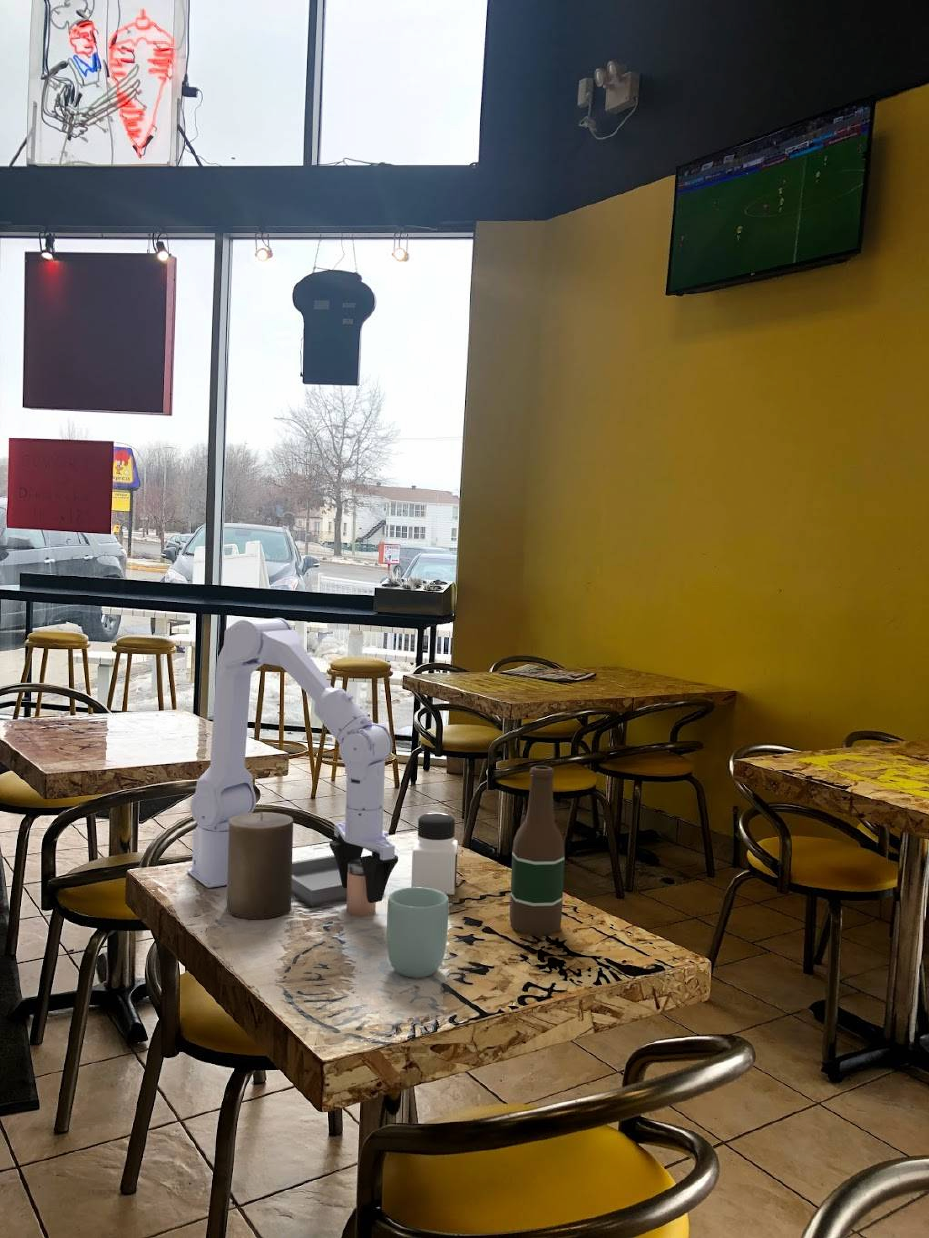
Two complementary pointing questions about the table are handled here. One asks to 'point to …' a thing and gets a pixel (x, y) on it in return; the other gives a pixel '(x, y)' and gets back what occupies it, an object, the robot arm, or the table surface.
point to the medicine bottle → (435, 853)
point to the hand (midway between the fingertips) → (361, 893)
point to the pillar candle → (259, 865)
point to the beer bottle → (538, 862)
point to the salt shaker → (357, 891)
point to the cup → (417, 930)
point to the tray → (317, 881)
